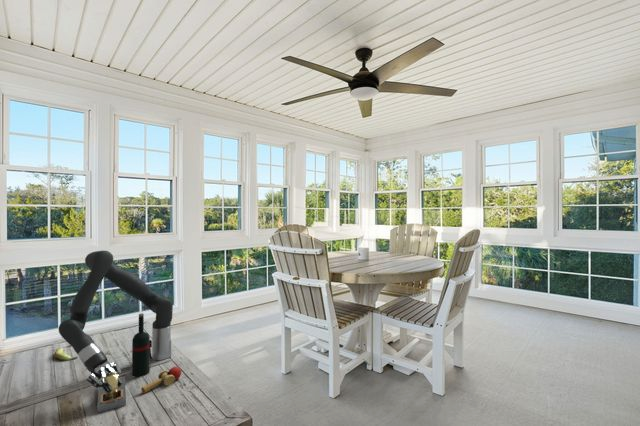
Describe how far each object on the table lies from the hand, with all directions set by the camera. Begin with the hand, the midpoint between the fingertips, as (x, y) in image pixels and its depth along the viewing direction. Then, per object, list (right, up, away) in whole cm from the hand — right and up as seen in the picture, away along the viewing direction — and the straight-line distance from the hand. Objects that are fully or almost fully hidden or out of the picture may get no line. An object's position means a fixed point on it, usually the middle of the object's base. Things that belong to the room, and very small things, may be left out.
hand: (115, 388), depth 136 cm
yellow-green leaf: (-56, -7, +43) cm, 71 cm away
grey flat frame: (-5, -6, +5) cm, 9 cm away
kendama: (+13, -7, +14) cm, 20 cm away
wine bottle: (-3, -6, +26) cm, 27 cm away
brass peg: (-2, -5, 0) cm, 5 cm away
